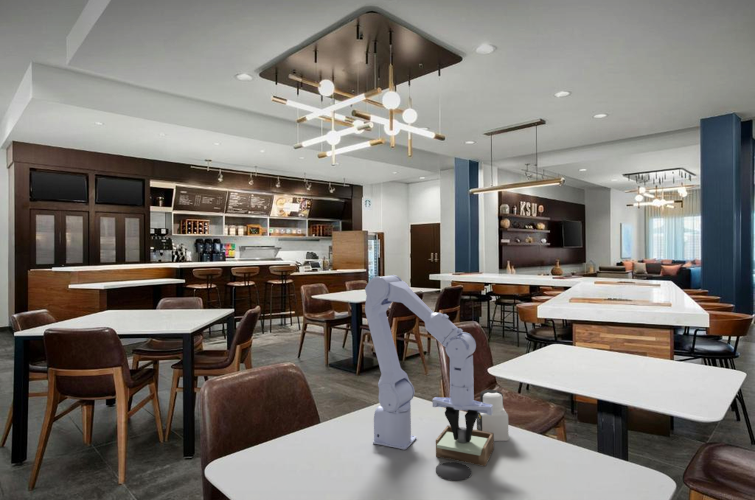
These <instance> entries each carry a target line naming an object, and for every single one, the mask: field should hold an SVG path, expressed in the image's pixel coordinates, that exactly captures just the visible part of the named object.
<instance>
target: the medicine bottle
mask: <svg viewBox="0 0 755 500" xmlns="http://www.w3.org/2000/svg"><path fill="white" fill-rule="evenodd" d="M479 397H480V398H479V400H480V401H479V402H482V403H486V404H491V405H493V413H492V415H487V414H486V413H479V414H478V416H477V419H476V430H479V431H485V432H491V433H494V442H509V437H510V436H509V435H510V434H509V413H508V412H507V411H506V409H505V408H504V394H503V393H502V392H501V391H499V390H496V389H485V390H482V391H481V392H480V395H479Z"/></svg>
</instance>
